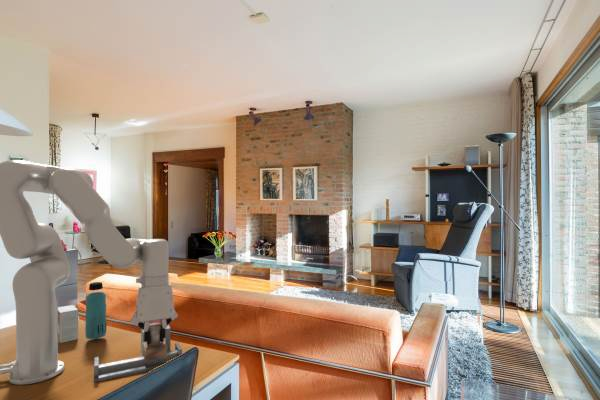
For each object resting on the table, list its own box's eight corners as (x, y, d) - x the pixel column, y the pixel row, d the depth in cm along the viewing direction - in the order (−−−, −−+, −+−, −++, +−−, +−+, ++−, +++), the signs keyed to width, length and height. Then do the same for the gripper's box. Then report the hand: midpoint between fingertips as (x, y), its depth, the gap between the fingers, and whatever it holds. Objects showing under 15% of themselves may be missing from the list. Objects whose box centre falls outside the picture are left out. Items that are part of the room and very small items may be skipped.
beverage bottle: (97, 344, 121) (97, 285, 121) (80, 342, 122) (80, 284, 122) (110, 337, 127) (111, 281, 127) (94, 335, 129) (95, 280, 128)
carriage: (145, 361, 102) (145, 329, 102) (142, 352, 108) (142, 322, 108) (167, 356, 105) (167, 326, 105) (163, 348, 111) (163, 319, 111)
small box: (55, 336, 127) (55, 307, 127) (73, 332, 131) (73, 304, 131) (59, 343, 122) (59, 312, 122) (78, 339, 125) (78, 309, 125)
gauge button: (149, 329, 113) (149, 320, 113) (148, 326, 116) (148, 316, 116) (163, 327, 115) (163, 318, 115) (161, 324, 118) (161, 314, 118)
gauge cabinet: (143, 359, 110) (143, 333, 110) (140, 350, 117) (141, 325, 117) (170, 353, 114) (170, 328, 114) (166, 345, 120) (166, 321, 120)
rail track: (94, 382, 96) (94, 367, 96) (94, 370, 103) (94, 356, 103) (182, 363, 107) (182, 350, 107) (177, 353, 114) (177, 341, 114)
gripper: (125, 286, 100) (125, 352, 100) (185, 280, 108) (185, 341, 108) (123, 281, 106) (123, 342, 106) (181, 275, 114) (180, 333, 114)
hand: (154, 341), depth 107 cm, fingers closed on carriage, 3 cm apart
